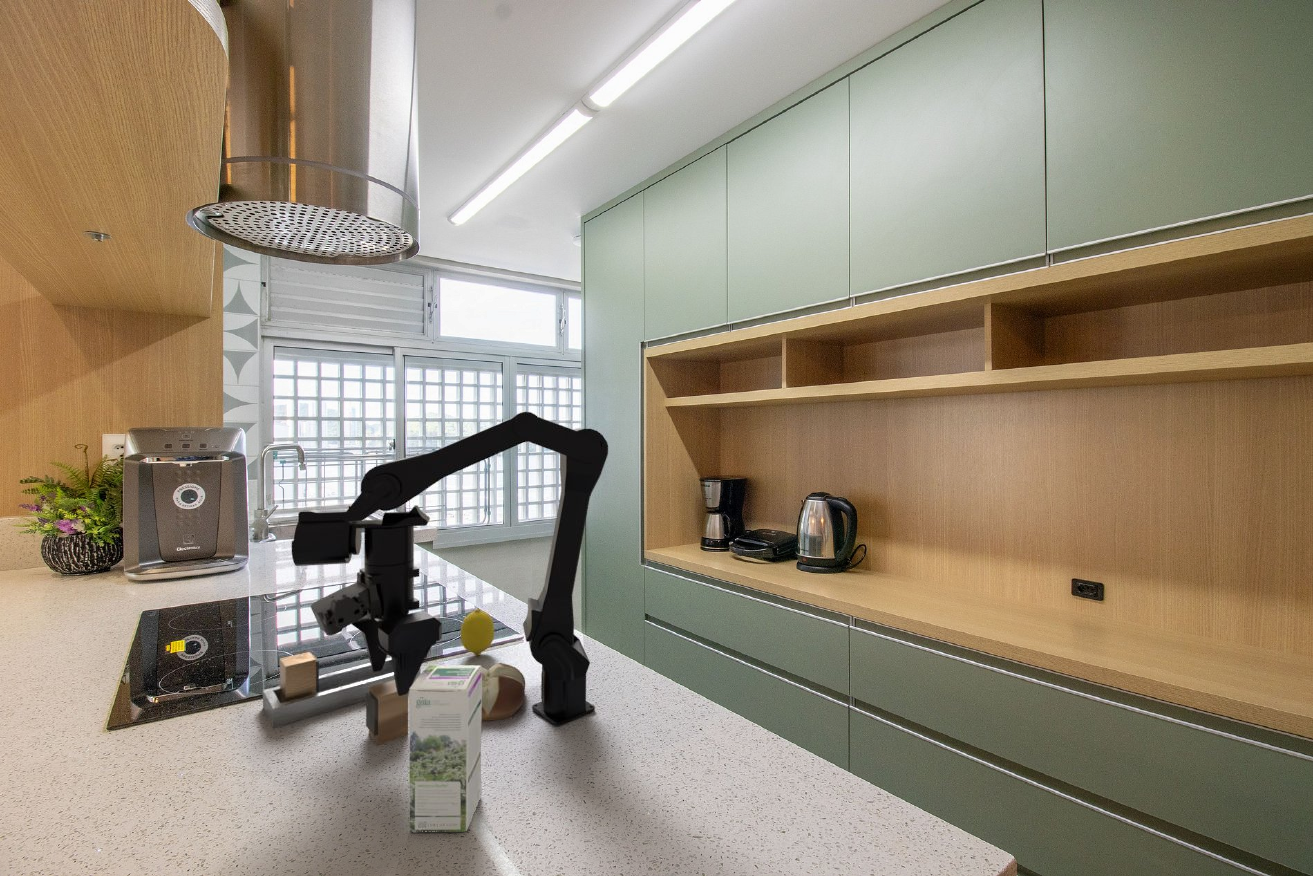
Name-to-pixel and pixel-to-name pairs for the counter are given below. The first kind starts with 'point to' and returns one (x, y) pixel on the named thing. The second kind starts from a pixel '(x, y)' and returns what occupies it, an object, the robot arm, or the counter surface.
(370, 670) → the rail
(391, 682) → the upright wooden block
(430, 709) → the syrup box
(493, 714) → the bread
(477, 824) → the counter surface
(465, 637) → the lemon
